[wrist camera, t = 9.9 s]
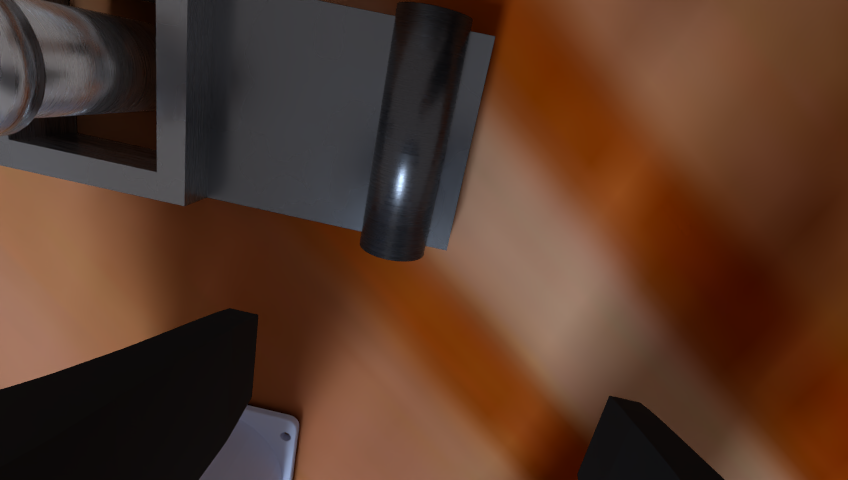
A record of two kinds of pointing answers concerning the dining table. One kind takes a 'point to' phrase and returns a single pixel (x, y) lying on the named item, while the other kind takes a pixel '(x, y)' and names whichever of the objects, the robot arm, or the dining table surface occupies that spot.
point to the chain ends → (296, 117)
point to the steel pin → (72, 63)
